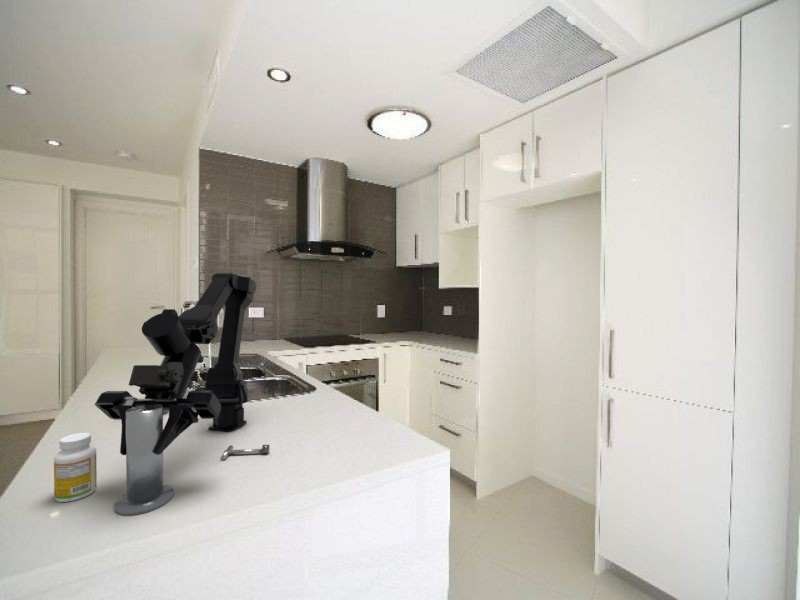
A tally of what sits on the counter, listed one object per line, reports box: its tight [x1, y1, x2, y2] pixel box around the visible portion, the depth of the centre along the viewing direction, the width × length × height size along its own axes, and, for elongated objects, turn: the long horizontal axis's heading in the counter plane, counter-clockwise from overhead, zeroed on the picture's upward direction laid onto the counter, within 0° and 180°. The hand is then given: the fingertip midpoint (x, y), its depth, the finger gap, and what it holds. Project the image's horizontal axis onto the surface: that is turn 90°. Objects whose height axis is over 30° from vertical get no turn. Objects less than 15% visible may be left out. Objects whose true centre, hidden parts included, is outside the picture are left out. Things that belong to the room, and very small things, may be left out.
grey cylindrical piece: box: [125, 404, 165, 502], centre depth 60 cm, size 5×5×14 cm
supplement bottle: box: [53, 432, 98, 503], centre depth 62 cm, size 5×5×10 cm
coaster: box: [113, 484, 174, 516], centre depth 60 cm, size 8×8×1 cm
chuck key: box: [220, 444, 270, 461], centre depth 78 cm, size 9×5×2 cm, turn 98°
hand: (139, 454), depth 59 cm, fingers closed on grey cylindrical piece, 5 cm apart
